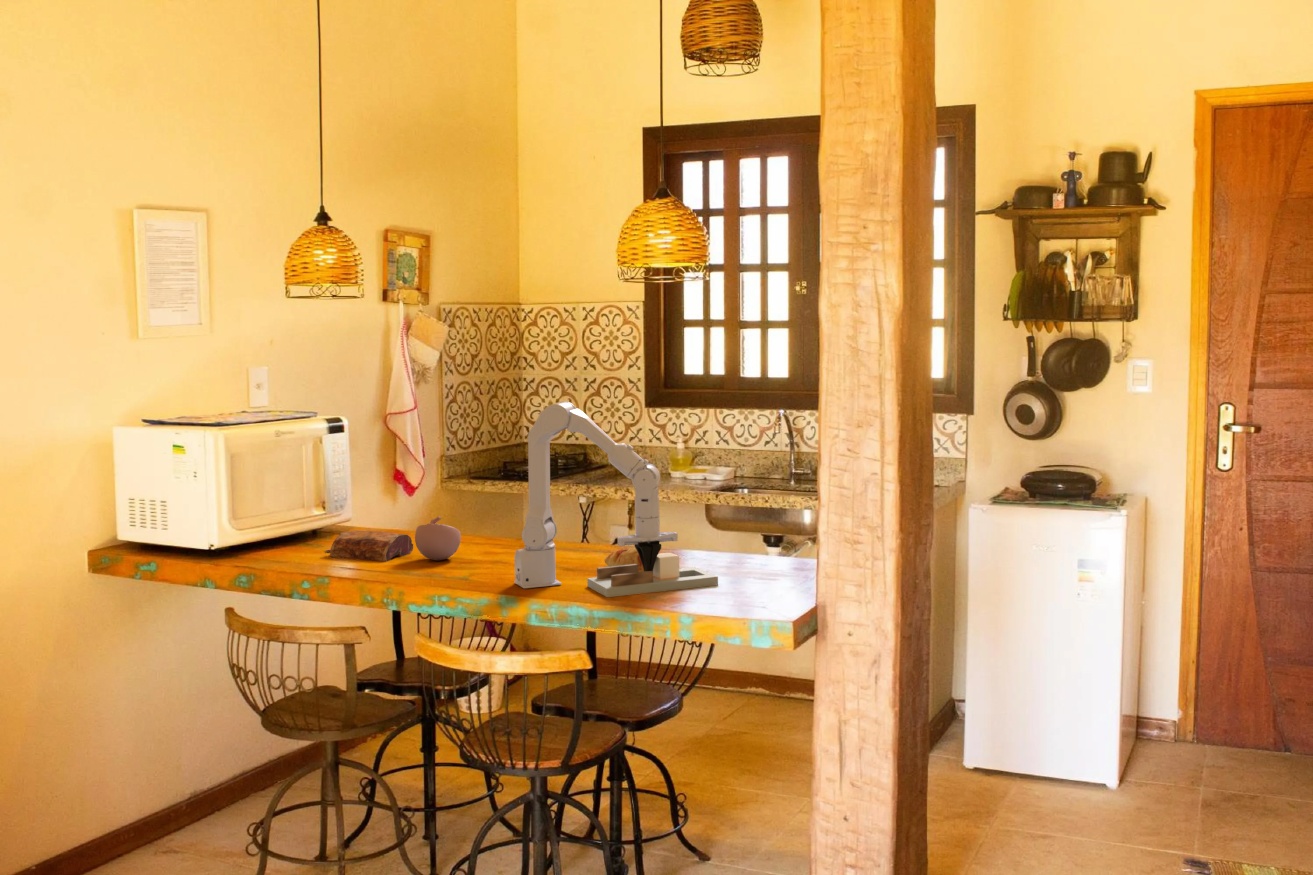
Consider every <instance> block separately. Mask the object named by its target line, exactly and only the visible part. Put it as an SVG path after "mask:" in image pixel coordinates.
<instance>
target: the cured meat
mask: <svg viewBox="0 0 1313 875" xmlns="http://www.w3.org/2000/svg"><path fill="white" fill-rule="evenodd" d="M332 542H333V543H332V544H331V546H330V549H328V550H327V549H326V550H324V553H327V554H329V555H330V558H336V559H337V558H338V559H343V560H344V559H345V560H356V559H360V560H361V561H374V560H375V561H377V562H383V563H384V562H385V563H386V562H389V561H391V559H392V558H394V557H399V558H400V557H404V556H408V555H410V554H411V553H412V552H413V550H414V543H413V540H412V537H411V536H410V535H409V534H404V533H403V534H402V533H395V532H390V531H389V532H388V531H380V530H357V529H355V530H351V531H343V532H340V533H339V534H338V535H337V536H336V538H335V539H334V541H332ZM329 552H330V553H329ZM375 561H374V562H375Z"/></svg>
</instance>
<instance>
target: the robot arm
mask: <svg viewBox="0 0 1313 875" xmlns="http://www.w3.org/2000/svg"><path fill="white" fill-rule="evenodd" d="M566 429H567V430H566ZM564 430H566V432H570V433H579V434H582V435H583V436H584V437H585V438H586V439H588V440H590V442H592V443H593V444H595V445H596V446H597V447H598V448H600V449H601V450H603V451H604V452H605V453H606V455H607V460H608V463H610V464H611V465H612V466H613V467H614V468H615V469H617V471H619V472H621V474H622V475H624V476H625V477H626V478H627V479H630V480H631V484H632V487H633V488H634V495H635V497H634V516H635V517H634V518H635V520H634V521H635V525H634V527H635V528H634V529H635V534H630V535H625V536H617V546H619V547H625V546H632V545H634V547H635V548H636V550H637V552H638V554H639V556H640V558H641V561H642V564H643V568H644V572H645V571H652V572H653V568H654V564H655V561H656V558H657V555H658V554H660V551H661V549H662V543H665V542H678V540H679V539H678V537H679V536H678V532H676V531H667V532H665V531H663V532H661V529H660V528H661V526H660V525H661V524H660V496H659V493H660V491H659V486H658V485H659V484H660V481H661V472H660V471H659V469H658V468H657V466H656V465H655V464H653V463H649V462H650V461H649V460H648V459H647V458H645V459H643V458H642V457H641V456H640V455H639V454H638V453H636V452H635V451H634V446H632V445H631V444H628V445H627V444H626V443H625V442H623V443H622V442H621V443H617V442H616V441H614V440H613V438H612V437H611V436H609V435H608V434H607V433H606V432H605V431H604V430H603V429H602V428H601V427H600V426H598V424H596V423H595V421H594V420H592V418H591V417H589V416H588V415H587V414H586V413H585V412H584V411H582V410H581V409H580V408H578V407H577V408H576V405H574V404H573V403H571V401H570V402H569V401H565V400H564V401H559V402H557V403H553V404H550V405H548V406H546V407H545V408H544V409H543V410H541V411H539V413H538V417H537V418H536V421H535V422H534V424H533V425H532V426H531V429H530V430H529V431H528V436H527V441H528V442H527V443H528V445H527V452H528V453H527V454H528V456H527V457H528V461H527V462H528V463H527V464H528V509H527V512H526V514H525V515H526V516H525V524H524V526H523V529H522V532H521V539H522V542H523V544H524V547H523V548H521V549H516V550H515V553H514V579H515V580H514V584H516V585H517V586H519V587H520V588H523V589H532V588H533V589H534V588H542V587H549V586H550V587H551V586H552V587H553V586H560V585H562V582H561V581H559V580H558V579H556V578H557V577H556V575H557V572H556V568H557V567H556V544H555V542H554V541H553V540H554V539H555V537H556V536H557V532H558V528H557V527H558V526H557V524H556V522H555V520H554V512H553V510H552V507H551V452H550V451H551V449H550V448H551V446H550V445H551V441H552V440H554V438H555V437H556V436H557V435H558V434H559V433H560V432H562V431H564Z"/></svg>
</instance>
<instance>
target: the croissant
mask: <svg viewBox="0 0 1313 875" xmlns="http://www.w3.org/2000/svg"><path fill="white" fill-rule="evenodd" d="M604 563H605V565H606V566H607V567H610V566H620V565H630V564H637V565H638V572H644V568H643V564H642V561H641V558H640V556H639V554H638V552H637V550H636V548H635V546H633V547H630V548H624V549H623V548H622V549H619V550H617V551H616V552H612V553H610V554H608V555H606V556H605V558H604Z"/></svg>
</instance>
